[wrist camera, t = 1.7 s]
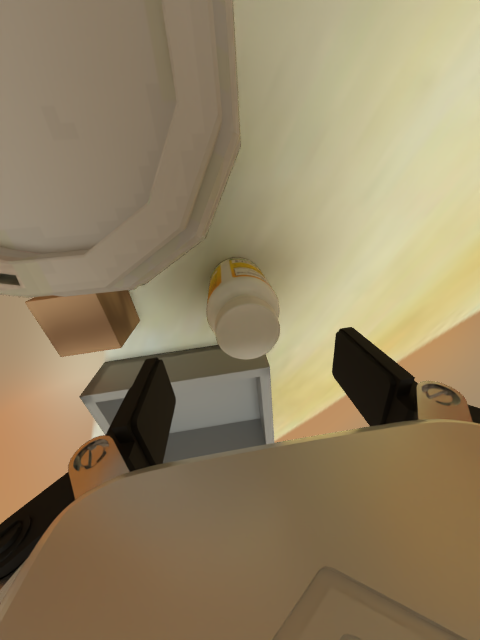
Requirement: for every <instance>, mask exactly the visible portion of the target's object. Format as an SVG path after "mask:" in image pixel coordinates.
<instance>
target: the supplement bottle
mask: <svg viewBox="0 0 480 640" xmlns="http://www.w3.org/2000/svg"><path fill="white" fill-rule="evenodd" d="M278 317H279V302H278V298H277V296H276V294H275V292H274V291H273V289H272V288H271V286H270V285H269V283H268V282H267V280H266V279H265V277H264V276H263V274H262V273H261V271H260V270H259V268H258V267H257V266H256V265H255V264H254V263H252V262H251V261H249V260H247V259H244V258H230V259H227V260H225V261H223V262H222V263H220V264H219V265H218V266H217V267H216V268H215V270H214V271H213V273H212V276H211V279H210V285H209V293H208V301H207V320H208V323H209V325H210V327H211V329H212V331H213V332H214V333H215V335H216V340H217V343H218V345H219V346H220V348H221V349H222V350H223V351H224V352H225V353H226V354H228V355H230V356H232V357H234V358H238V359H254V358H257V357H260V356H262V355H264V354H266V353H267V352H269V351H270V350H271V349H272V348H273V347H274V345H275V344H276V342H277V340H278V338H279V334H280V324H279V321H278Z"/></svg>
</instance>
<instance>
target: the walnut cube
mask: <svg viewBox="0 0 480 640" xmlns="http://www.w3.org/2000/svg"><path fill="white" fill-rule="evenodd" d="M25 303H26V305H27V306H28V308H29V309H30V311H31V312H32V314H33V315H34V317H35V318H36V320H37V322H38V323H39V325H40V326H41V328H42V329H43V331H44V332H45V334H46V335H47V337H48V338H49V340H50V341H51V343H52V345H53V346H54V348H55V349H56V351H57V352H58V354H59V355H60V357H64V356H70V355H77V354H84V353H91V352H97V351H104V350H111V349H117V348H121V347H122V346H123V344H124V343H125V342H126V340H127V339H128V337H129V336H130V334H131V333H132V331H133V330H134V328H135V327H136V326H137V324H138V323H139V321H140V320H139V317H138V315H137V312H136V309H135V307H134V304H133V302H132V299H131V297H130V294H129V291H128V290H123V291H114V292H104V293H95V294H85V295H76V296H66V297H62V296H54V295H51V296H41V297H34V298H32V299H30V300H28V301H26V302H25Z"/></svg>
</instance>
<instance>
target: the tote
mask: <svg viewBox="0 0 480 640" xmlns="http://www.w3.org/2000/svg"><path fill="white" fill-rule="evenodd" d="M155 357H158V358H159V360H160V359H162V360H163V362H164V365H165V368H166V371H167V374H168V377H169V380H170V382H171V385H172V388H173V391H174V394H175V397H176V405H175V409H174V414H173V419H172V423H171V428H170V432H169V437H168V442H167V446H166V451H165V456H164V460H163V463H168V462H173V461H178V460H183V459H188V458H193V457H199V456H204V455H210V454H215V453H221V452H226V451H232V450H237V449H243V448H248V447H254V446H260V445H265V444H271V443H274V431H273V414H272V397H271V379H270V366H269V363H268V360H267V357H266V354H264V355H262V356H260V357H257V358H254V359H238V358H234V357H232V356H230V355H228V354H226V353H225V352H224V351H223V350H222V349H221V348H220V346H219V345H216V346H209V347H203V348H196V349H189V350H183V351H176V352H169V353H163V354H156V355H150V356H143V357H136V358H130V359H123V360H117V361H110V362H105V363H104V364H103V365H102V367H101V368H100V369H99V371H98V372H97V373H96V375H95V376H94V378H93V379H92V380H91V382H90V383H89V384H88V386H87V387H86V388H85V390H84V391H83V393H82V394H81V396H80V398H81V400H82V401H83V403H84V404H85V406H86V407H87V409H88V410H89V412H90V413H91V415H92V416H93V418H94V419H95V421H96V422H97V423H98V425H99V426H100V428H101V429H102V431H103V432H104V434H105V435H106V433H107V431H108V429H109V427H110V425H111V423H112V421H113V419H114V417H115V415H116V413H117V411H118V409H119V407H120V405H121V404H122V402H123V400H124V398H125V396H126V394H127V392H128V390H129V389H130V388H131V387H132V385H133V383H134V381H135V379H136V377H137V375H138V373H139V371H140V369H141V367H142V365H143V363H144V361H145V360H146V359H149V358H155Z"/></svg>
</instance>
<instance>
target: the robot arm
mask: <svg viewBox="0 0 480 640" xmlns="http://www.w3.org/2000/svg"><path fill="white" fill-rule="evenodd" d="M332 373H333V376H334V378H335V379H336V381H337V382H338V383H339V385H340V386H341V387H342V389H343V390H344V391H345V393H346V394H347V396H348V397H349V398H350V400H351V401H352V402H353V404H354V405H355V406H356V408H357V409H358V410H359V412H360V413H361V414H362V416H363V417H364V418H365V420H366V421H367V423H368V424H369V425H370V427H364V428H359V429H352V430H346V431H341V432H335V433H329V434H323V435H317V436H311V437H305V438H300V439H294V440H288V441H283V442H277V443H271V444H265V445H260V446H254V447H248V448H243V449H237V450H232V451H226V452H221V453H215V454H210V455H204V456H199V457H193V458H188V459H183V460H178V461H173V462H168V463H163V460H164V456H165V451H166V446H167V442H168V437H169V432H170V428H171V423H172V419H173V414H174V409H175V405H176V397H175V394H174V391H173V388H172V385H171V382H170V380H169V377H168V374H167V371H166V368H165V365H164V362H163V360H162V359H160V360H159V358H158V357H155V358H149V359H146V360H145V361H144V363H143V365H142V367H141V369H140V371H139V373H138V375H137V377H136V379H135V381H134V383H133V385H132V387H131V388H130V389H129V390H128V392H127V394H126V396H125V398H124V400H123V402H122V404H121V405H120V407H119V409H118V411H117V413H116V415H115V417H114V419H113V421H112V423H111V425H110V427H109V429H108V431H107V433H106V435H103V436H98V437H95V438H93V439H91V440H89V441H87V442H86V443H85V444H83V445H82V446H81V447H80V448H79V449H78V450H77V451H76V452H75V453H74V455H73V456H72V458H71V459H70V462H69V465H68V473H66V474H65V475H64V476H63V477H61V478H60V479H58V480H57V481H56V482H54V483H53V484H52V485H51V486H49V487H48V488H47V489H45V490H44V491H43V492H42V493H40V494H39V495H38V496H36V497H35V498H34V499H32V500H31V501H30V502H28V503H27V504H26V505H24V506H23V507H22V508H21V509H19V510H18V511H17V512H15V513H14V514H13V515H11V516H10V517H9V518H7V519H6V520H5V521H4V522H3V523H1V524H0V640H480V408H477V407H474V406H470V405H467V401H466V399H465V398H464V396H462V394H460V392H458V391H457V390H455V389H453V388H452V387H450V386H447V385H445V384H442V383H439V382H434V381H423V382H420V383H419V384H418V383H417V382H415V381H414V378H415V377H413V376H412V375H411V374H410V373H408V372H407V371H406V370H405V369H403V368H402V367H401V366H399V365H398V364H397V363H396V362H395V361H394V360H392V359H391V358H390V357H389V356H387V355H386V354H385V353H384V352H382V351H381V350H380V349H379V348H377V347H376V346H375V345H374V344H372V343H371V342H370V341H369V340H367V339H366V338H365V337H364V336H362V335H361V334H360V333H359V332H357V331H356V330H355V329H354V328H352V327H348V328H342V329H340V330H339V332H337V333H336V339H335V349H334V358H333V368H332Z"/></svg>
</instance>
